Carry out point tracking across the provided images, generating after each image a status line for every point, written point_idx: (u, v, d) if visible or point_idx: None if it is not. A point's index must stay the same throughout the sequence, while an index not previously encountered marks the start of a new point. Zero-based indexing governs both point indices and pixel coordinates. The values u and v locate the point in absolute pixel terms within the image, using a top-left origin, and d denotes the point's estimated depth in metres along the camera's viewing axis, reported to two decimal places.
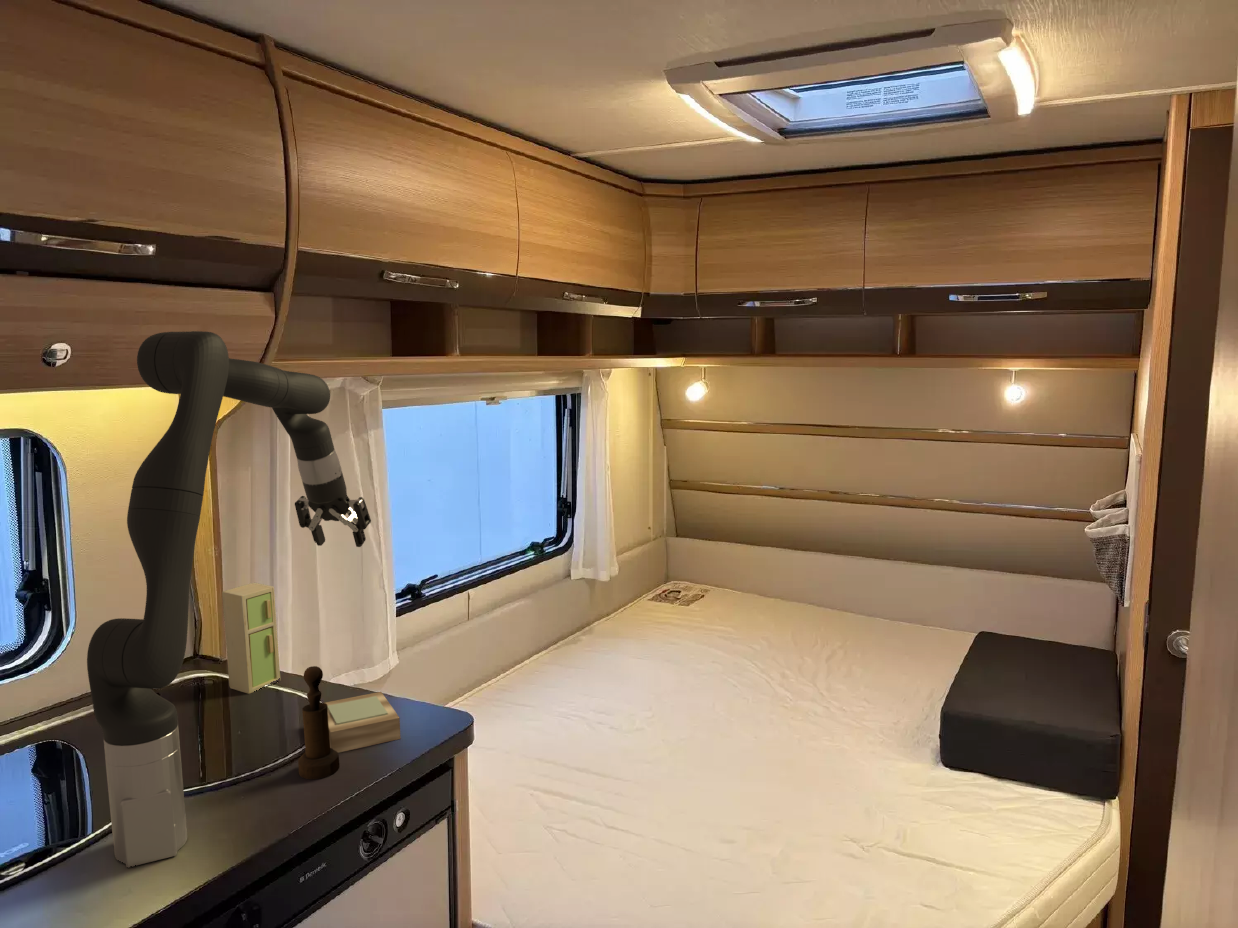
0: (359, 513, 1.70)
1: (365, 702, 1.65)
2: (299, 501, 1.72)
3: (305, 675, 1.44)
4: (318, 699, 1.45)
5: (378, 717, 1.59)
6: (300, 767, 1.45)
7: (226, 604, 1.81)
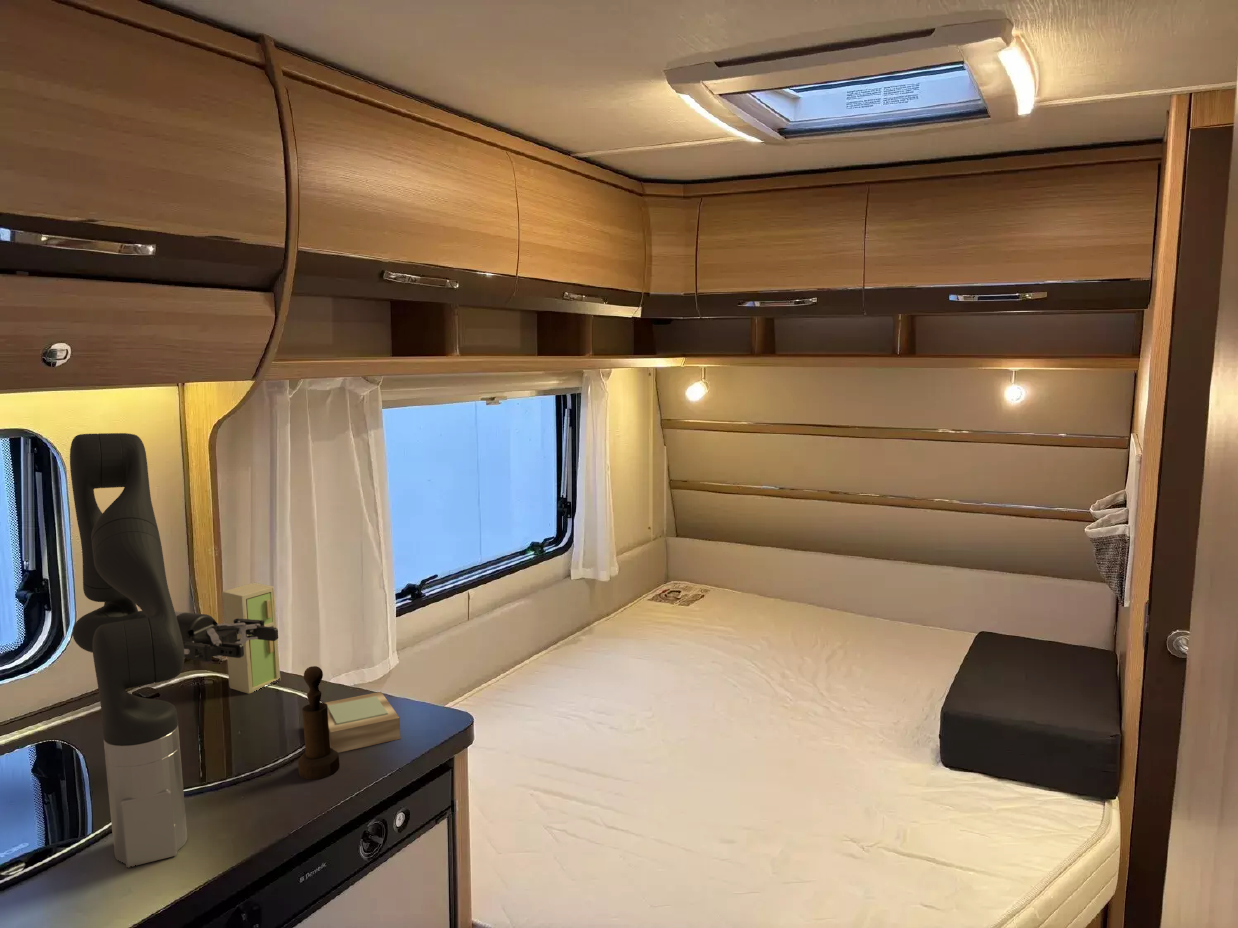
0: (246, 619, 1.56)
1: (365, 702, 1.65)
2: None
3: (305, 675, 1.44)
4: (318, 699, 1.45)
5: (378, 717, 1.59)
6: (300, 767, 1.45)
7: (226, 604, 1.81)
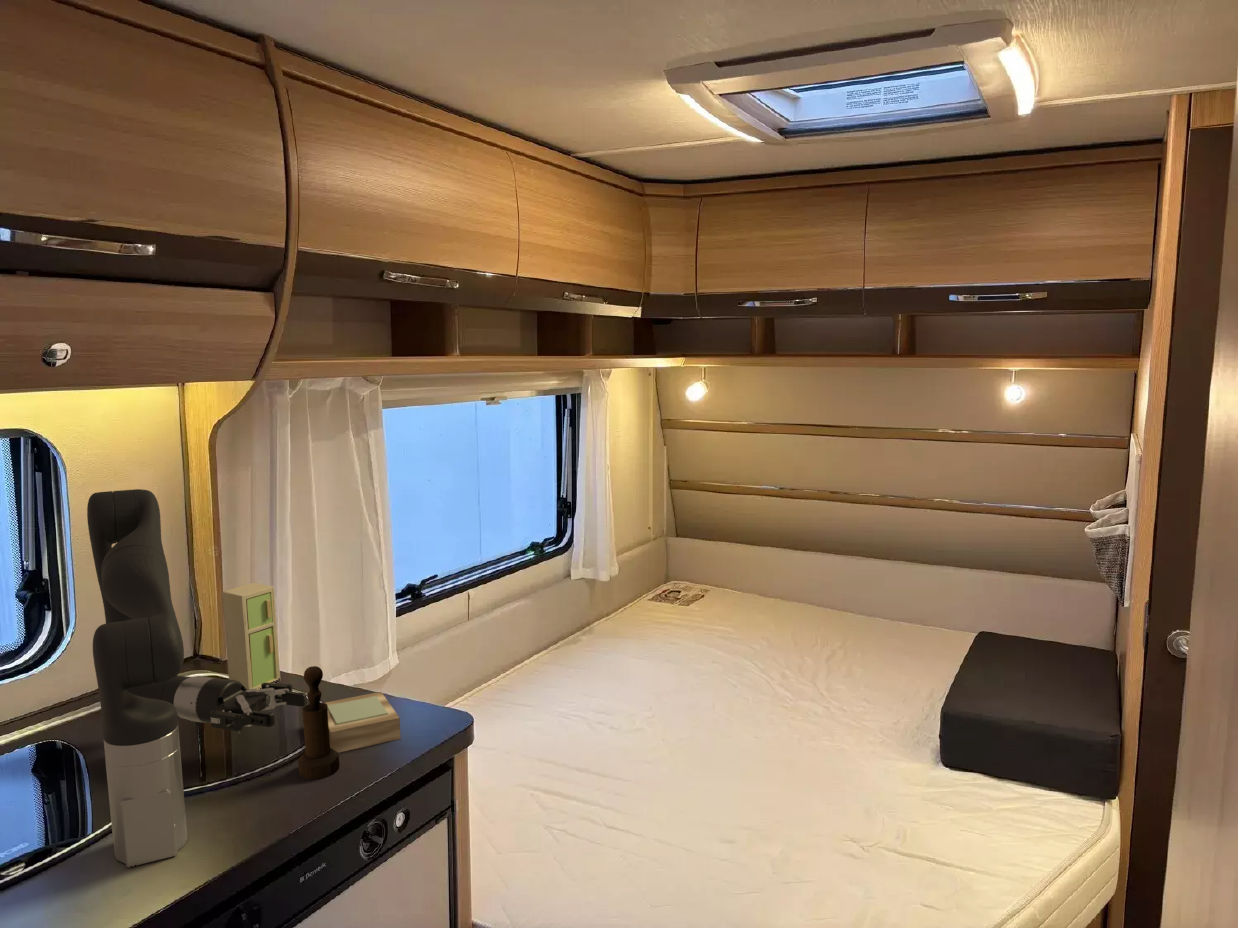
0: (273, 684, 1.56)
1: (365, 702, 1.65)
2: None
3: (305, 675, 1.44)
4: (318, 699, 1.45)
5: (378, 717, 1.59)
6: (300, 767, 1.45)
7: (226, 604, 1.81)
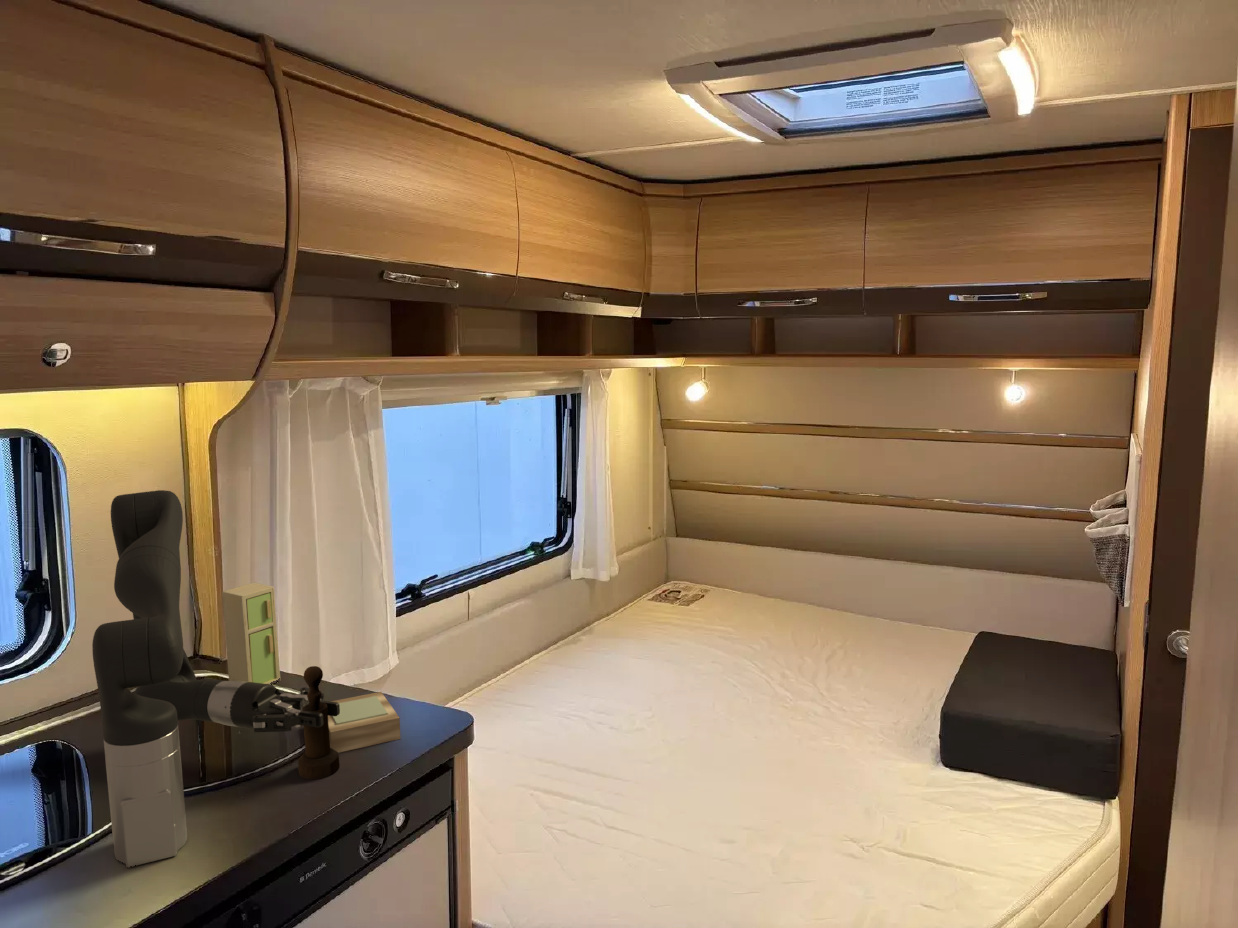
0: None
1: (365, 702, 1.65)
2: None
3: (305, 675, 1.44)
4: (318, 699, 1.45)
5: (378, 717, 1.59)
6: (300, 767, 1.45)
7: (226, 604, 1.81)
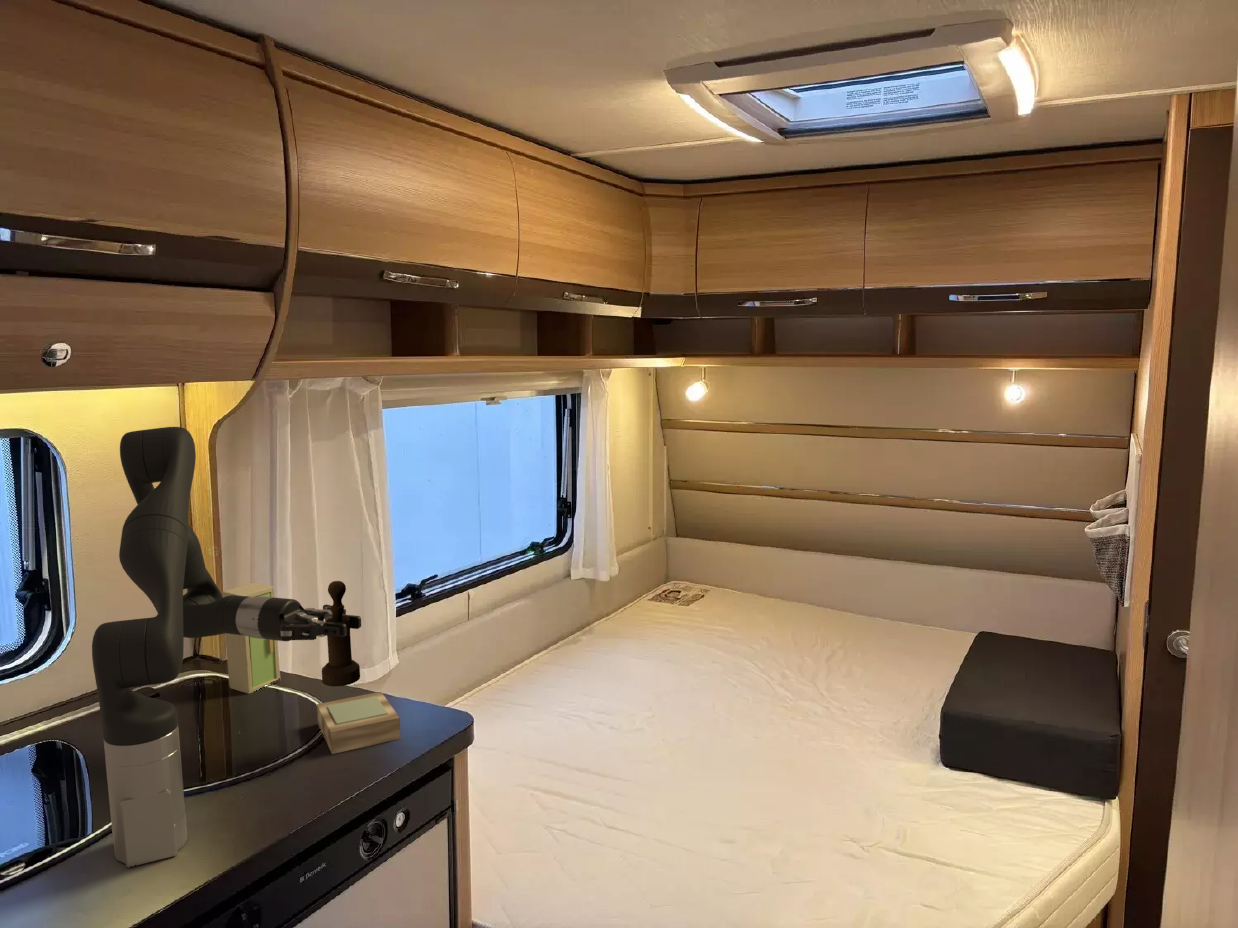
0: None
1: (365, 702, 1.65)
2: None
3: (329, 588, 1.53)
4: (341, 612, 1.54)
5: (378, 717, 1.59)
6: (324, 675, 1.54)
7: None
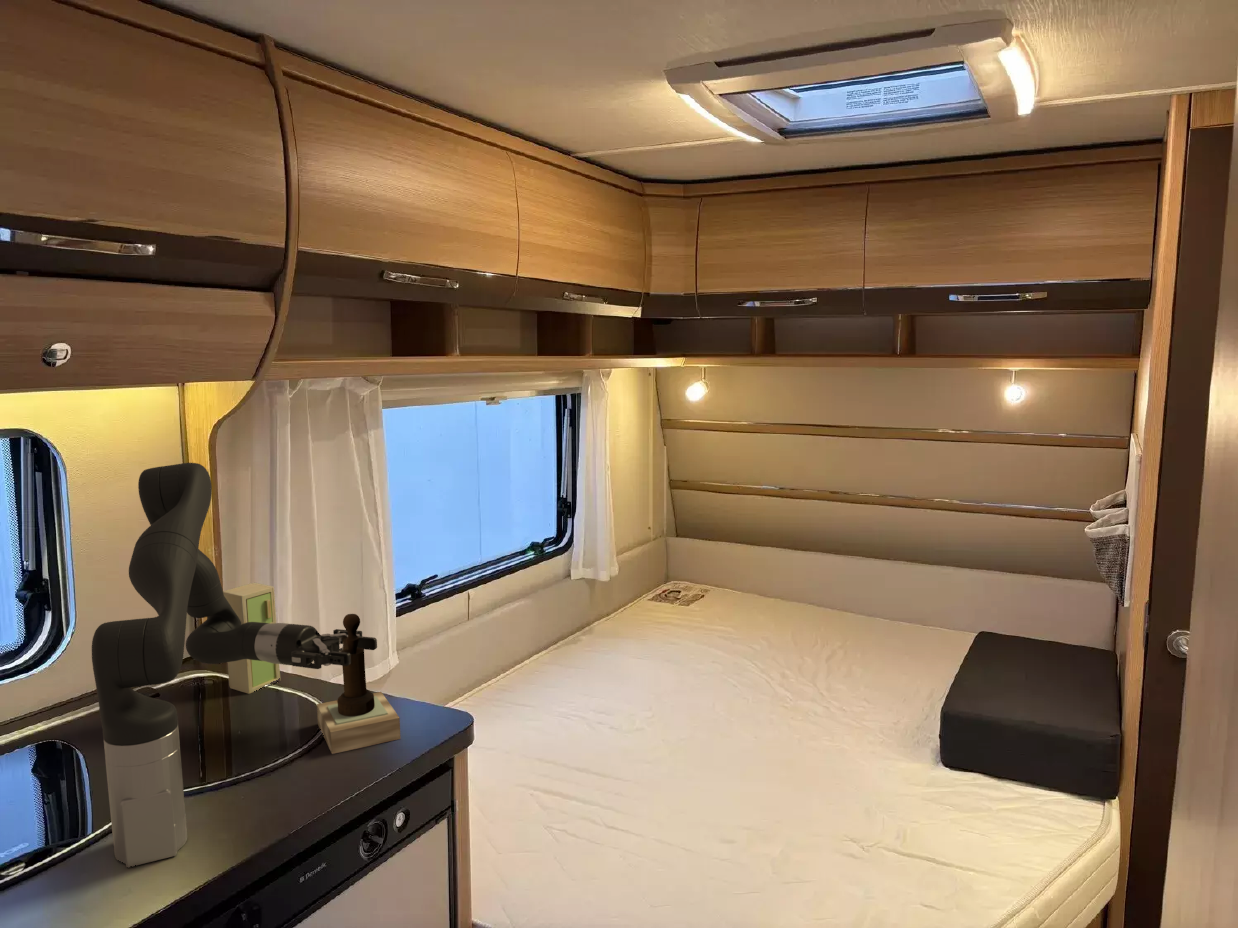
0: (344, 630, 1.68)
1: None
2: None
3: (344, 621, 1.58)
4: (355, 644, 1.59)
5: (378, 717, 1.59)
6: (339, 705, 1.59)
7: None
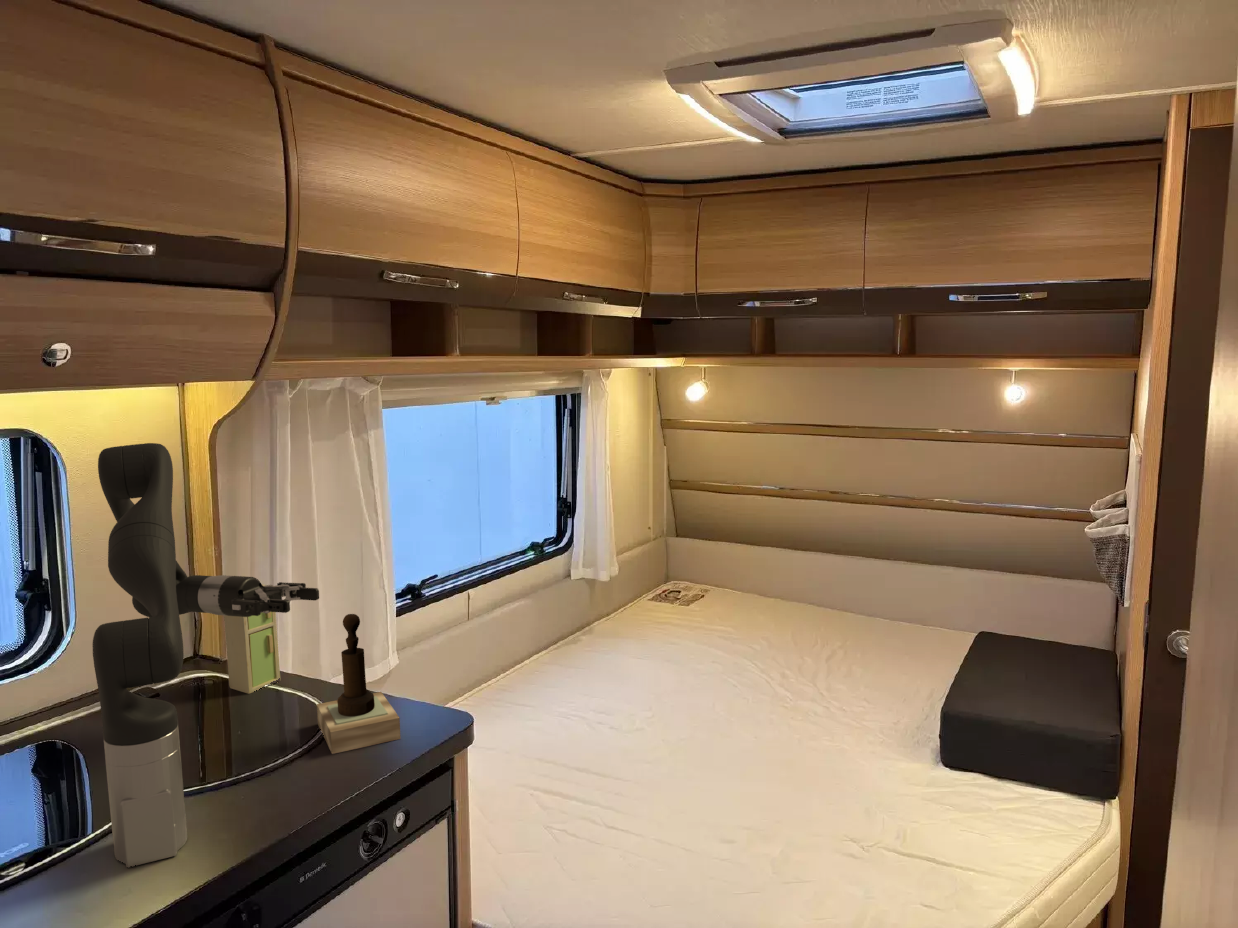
0: (288, 583, 1.70)
1: None
2: None
3: (344, 621, 1.58)
4: (355, 644, 1.59)
5: (378, 717, 1.59)
6: (339, 705, 1.59)
7: None
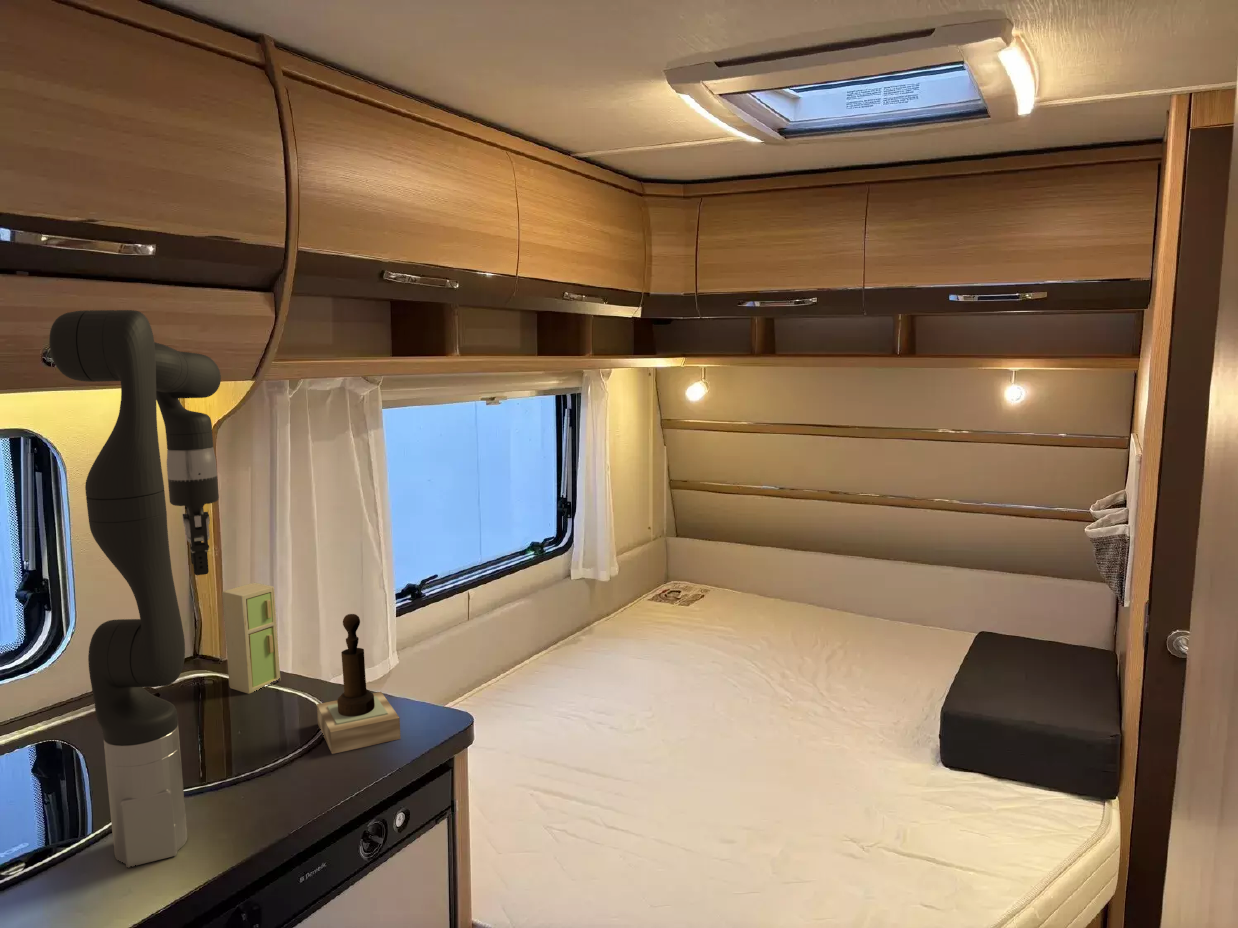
0: None
1: None
2: None
3: (344, 621, 1.58)
4: (355, 644, 1.59)
5: (378, 717, 1.59)
6: (339, 705, 1.59)
7: (226, 604, 1.81)
